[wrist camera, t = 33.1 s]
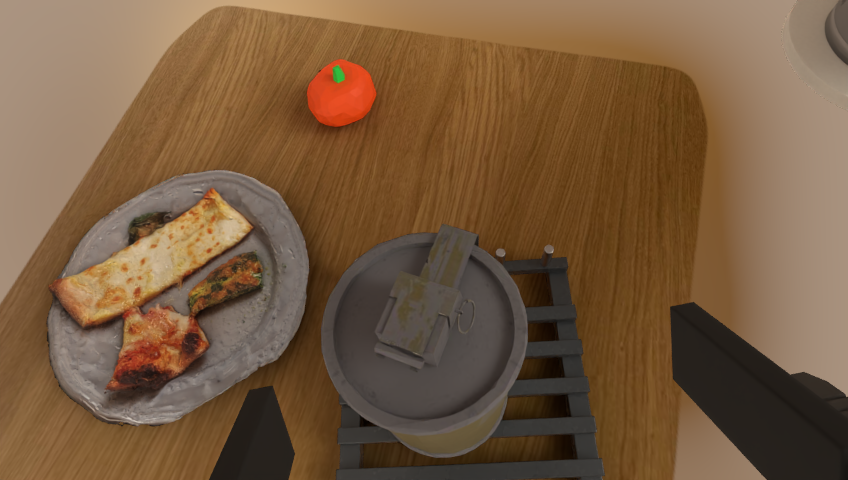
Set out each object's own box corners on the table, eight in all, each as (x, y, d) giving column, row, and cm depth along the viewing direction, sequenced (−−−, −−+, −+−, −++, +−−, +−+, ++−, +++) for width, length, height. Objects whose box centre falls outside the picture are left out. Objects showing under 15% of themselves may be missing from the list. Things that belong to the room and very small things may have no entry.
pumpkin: (301, 127, 58) (282, 86, 52) (337, 77, 61) (323, 33, 55) (356, 147, 56) (342, 107, 50) (390, 95, 59) (381, 51, 53)
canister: (482, 480, 38) (490, 469, 20) (356, 426, 40) (263, 375, 22) (525, 344, 42) (563, 235, 24) (408, 303, 44) (365, 177, 27)
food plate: (95, 480, 43) (65, 479, 40) (37, 267, 52) (9, 253, 49) (355, 321, 47) (346, 308, 44) (256, 151, 57) (244, 131, 53)
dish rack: (562, 268, 47) (572, 241, 42) (608, 542, 38) (629, 550, 33) (349, 282, 49) (335, 258, 44) (341, 551, 39) (321, 559, 34)
